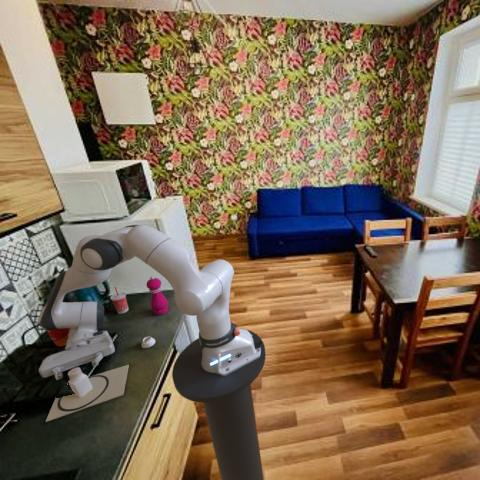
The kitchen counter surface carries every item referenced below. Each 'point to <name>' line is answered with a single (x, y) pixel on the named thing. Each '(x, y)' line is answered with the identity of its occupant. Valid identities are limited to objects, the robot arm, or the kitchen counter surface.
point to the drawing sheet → (92, 393)
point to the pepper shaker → (79, 382)
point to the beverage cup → (120, 302)
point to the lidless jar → (148, 342)
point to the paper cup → (59, 336)
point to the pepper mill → (157, 296)
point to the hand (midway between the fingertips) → (77, 370)
